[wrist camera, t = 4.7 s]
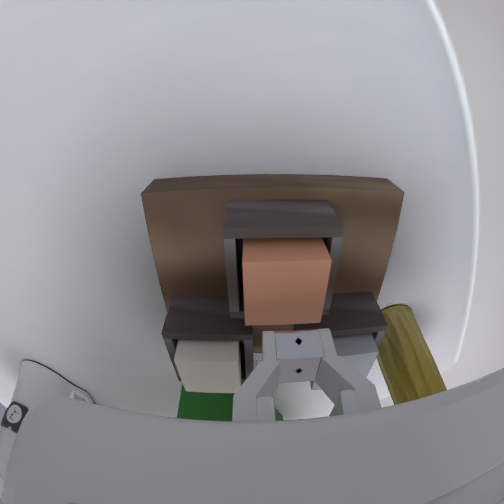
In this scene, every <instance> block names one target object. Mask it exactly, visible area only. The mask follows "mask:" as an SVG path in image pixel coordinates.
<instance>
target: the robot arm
mask: <svg viewBox="0 0 504 504" xmlns="http://www.w3.org/2000/svg"><path fill="white" fill-rule="evenodd" d="M300 381H315V382H316V383H317V384H318V386H319V387H320V388H321V389H322V390H323V391H324V393H325V394H326V395H327V396H328V397H329V398H330V400H331V401H332V402H333V403H334V404H335V406H334V408H333V410H332V412H331V413H330V415H329V417H320V418H310V419H299V420H284V421H275V407H274V399H273V398H272V397H271V395H272V394H273V392H274V390H275V389H276V387H277V385H278V383H286V382H300ZM1 426H2V428H1V431H0V477H1V478H2V479H3V481H4V484H3V490H2V497H1V498H0V504H504V368H503V369H501V370H498V371H496V372H494V373H491V374H489V375H487V376H484V377H482V378H479V379H477V380H474V381H472V382H469V383H466V384H464V385H461V386H458V387H455V388H453V389H449V390H446V391H443V392H440V393H437V394H434V395H430V396H427V397H424V398H420V399H416V400H413V401H409V402H405V403H401V404H396V405H392V406H388V407H383V408H381V405H380V402H379V398H378V395H377V392H376V388H375V385H374V384H373V383H371V382H370V381H369V380H368V379H367V378H365V377H364V376H363V375H362V374H361V373H360V372H358V371H357V370H356V369H355V368H354V367H353V366H352V365H350V364H349V363H348V362H347V361H346V360H345V359H343V358H342V357H341V356H337V353H336V349H335V346H334V342H333V338H332V335H331V331H330V329H329V328H325V329H309V330H296V331H263V336H262V361H260V362H259V363H258V365H257V366H256V367H255V369H254V370H253V371H252V373H251V374H250V375H249V377H248V378H247V379H246V380H245V382H244V383H243V384H242V386H241V387H240V388H239V389H238V391H237V392H236V393H235V395H234V396H233V415H232V421H207V420H192V419H181V418H171V417H163V416H155V415H148V414H141V413H135V412H129V411H124V410H119V409H114V408H109V407H104V406H100V405H96V404H94V402H93V400H92V399H91V397H90V395H89V394H88V393H87V392H85V391H84V390H82V389H80V388H78V387H76V386H74V385H72V384H71V383H69V382H68V381H66V380H65V379H64V378H62V377H61V376H59V375H58V374H56V373H55V372H53V371H51V370H49V369H48V368H46V367H44V366H42V365H40V364H37V363H35V362H32V361H22V363H21V367H20V372H19V376H18V380H17V383H16V387H15V390H14V393H13V397H12V400H11V404H10V405H9V407H8V408H7V410H6V411H5V414H4V416H3V418H2V422H1Z"/></svg>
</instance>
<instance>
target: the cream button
mask: <svg viewBox="0 0 504 504" xmlns="http://www.w3.org/2000/svg"><path fill="white" fill-rule="evenodd" d="M174 362H175V364H176V367H177V370H178V372H179V375H180V378H181V380H182V383H183V385H184V388H185V390H186V391H188V392H206V393H236V392H237V391H238V389H239V388H240V387H241V349H240V340H187V339H178V344H177V348H176V352H175V357H174Z"/></svg>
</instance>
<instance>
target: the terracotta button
mask: <svg viewBox="0 0 504 504" xmlns="http://www.w3.org/2000/svg"><path fill="white" fill-rule="evenodd" d="M331 262H332V260H331V257H330V255H329V253H328V250H327V248H326V246H325V243H324V241H323V239H322V237H321V238H246V239H243V259H242V265H243V289H244V311H245V326H247V325H286V324H308V323H320V322H321V317H322V312H323V307H324V302H325V297H326V291H327V286H328V280H329V274H330V268H331Z"/></svg>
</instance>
